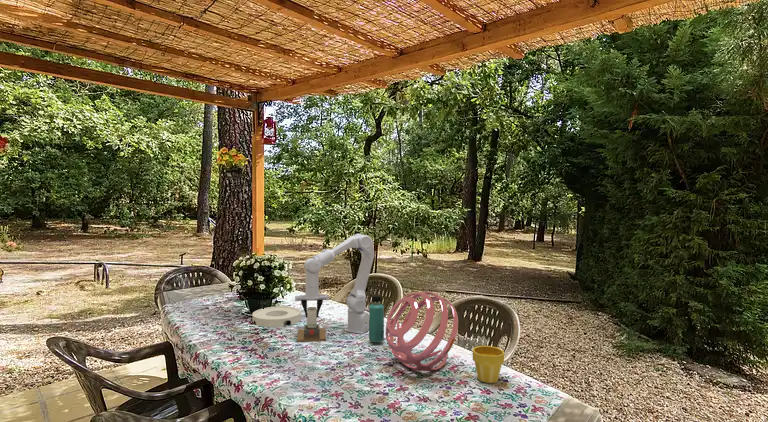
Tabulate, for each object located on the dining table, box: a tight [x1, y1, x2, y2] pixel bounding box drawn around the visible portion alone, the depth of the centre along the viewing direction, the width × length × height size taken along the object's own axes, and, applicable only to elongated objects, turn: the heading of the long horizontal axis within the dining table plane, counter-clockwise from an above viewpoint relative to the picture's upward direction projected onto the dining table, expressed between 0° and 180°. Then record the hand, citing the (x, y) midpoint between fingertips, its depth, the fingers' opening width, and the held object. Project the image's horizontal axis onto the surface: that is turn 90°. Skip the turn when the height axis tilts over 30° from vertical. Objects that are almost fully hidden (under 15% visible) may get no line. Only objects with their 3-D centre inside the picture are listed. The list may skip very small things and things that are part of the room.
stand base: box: [296, 323, 327, 343], centre depth 183 cm, size 14×12×4 cm
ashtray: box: [251, 306, 302, 328], centre depth 206 cm, size 23×23×4 cm
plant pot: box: [472, 345, 505, 384], centre depth 141 cm, size 10×10×10 cm
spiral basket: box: [385, 291, 459, 372], centre depth 152 cm, size 28×28×27 cm
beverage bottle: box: [368, 294, 385, 343], centre depth 175 cm, size 6×7×20 cm
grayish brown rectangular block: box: [306, 306, 318, 328], centre depth 182 cm, size 4×4×8 cm
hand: (311, 317), depth 182 cm, fingers closed on grayish brown rectangular block, 4 cm apart
